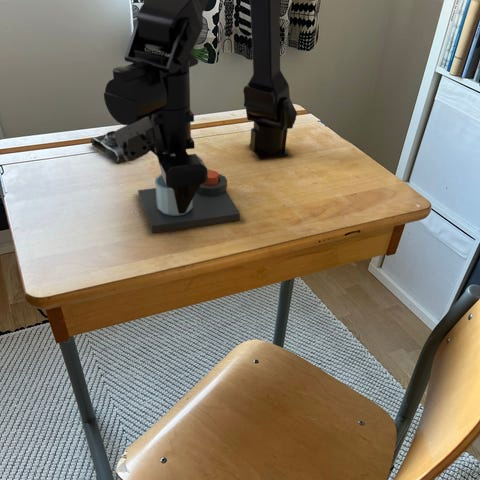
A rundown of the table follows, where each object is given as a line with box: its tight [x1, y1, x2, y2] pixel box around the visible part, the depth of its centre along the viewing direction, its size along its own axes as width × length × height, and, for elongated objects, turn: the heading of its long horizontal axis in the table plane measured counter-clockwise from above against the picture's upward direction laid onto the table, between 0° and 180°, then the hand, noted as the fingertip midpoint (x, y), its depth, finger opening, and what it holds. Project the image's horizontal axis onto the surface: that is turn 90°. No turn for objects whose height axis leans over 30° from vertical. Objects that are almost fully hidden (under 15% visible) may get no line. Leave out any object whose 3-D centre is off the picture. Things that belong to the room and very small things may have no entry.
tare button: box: [203, 169, 220, 185], centre depth 90 cm, size 3×3×2 cm
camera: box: [90, 130, 126, 163], centre depth 102 cm, size 5×10×4 cm, turn 41°
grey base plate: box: [137, 173, 241, 234], centre depth 88 cm, size 16×12×3 cm
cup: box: [154, 173, 193, 216], centre depth 85 cm, size 6×6×5 cm
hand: (175, 198), depth 85 cm, fingers open, 9 cm apart
